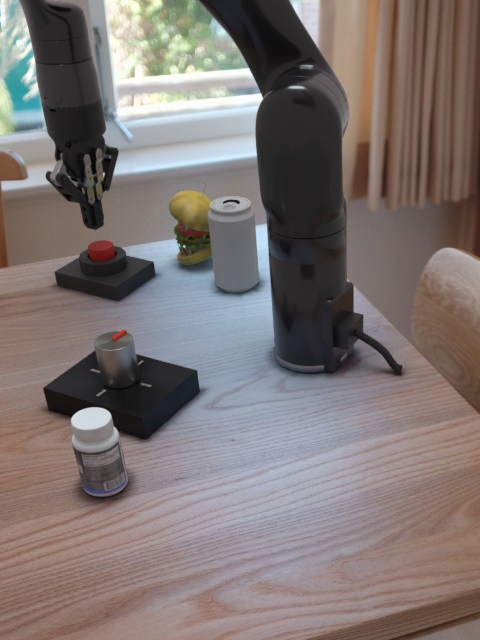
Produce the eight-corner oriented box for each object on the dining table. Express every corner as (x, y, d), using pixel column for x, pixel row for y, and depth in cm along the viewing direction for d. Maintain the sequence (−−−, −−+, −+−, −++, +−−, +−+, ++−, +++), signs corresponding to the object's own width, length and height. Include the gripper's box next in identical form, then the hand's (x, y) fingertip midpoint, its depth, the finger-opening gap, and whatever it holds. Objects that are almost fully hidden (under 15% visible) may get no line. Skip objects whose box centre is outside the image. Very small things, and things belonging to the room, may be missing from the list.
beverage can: (262, 275, 133) (257, 194, 125) (255, 295, 128) (249, 212, 121) (220, 274, 134) (212, 193, 126) (211, 294, 129) (202, 211, 121)
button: (120, 254, 131) (118, 242, 130) (104, 264, 128) (102, 252, 127) (100, 249, 132) (98, 238, 131) (84, 259, 129) (82, 247, 128)
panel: (200, 391, 109) (197, 368, 107) (146, 439, 101) (141, 416, 99) (106, 365, 114) (102, 343, 112) (48, 409, 106) (42, 386, 104)
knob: (124, 392, 103) (116, 351, 100) (93, 383, 105) (85, 342, 102) (147, 374, 106) (140, 333, 103) (117, 365, 108) (109, 325, 105)
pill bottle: (86, 471, 97) (70, 405, 92) (130, 469, 97) (117, 403, 92) (80, 499, 93) (63, 432, 88) (126, 496, 94) (112, 429, 88)
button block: (156, 275, 134) (152, 249, 131) (118, 300, 127) (113, 274, 125) (96, 261, 137) (91, 236, 135) (57, 285, 131) (51, 259, 129)
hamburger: (186, 250, 140) (176, 172, 133) (230, 253, 139) (223, 175, 131) (169, 271, 134) (157, 191, 127) (215, 275, 133) (207, 194, 126)
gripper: (80, 79, 122) (102, 206, 133) (12, 106, 113) (42, 240, 124) (125, 86, 119) (144, 215, 130) (60, 114, 110) (86, 250, 121)
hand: (94, 227), depth 127 cm, fingers closed
